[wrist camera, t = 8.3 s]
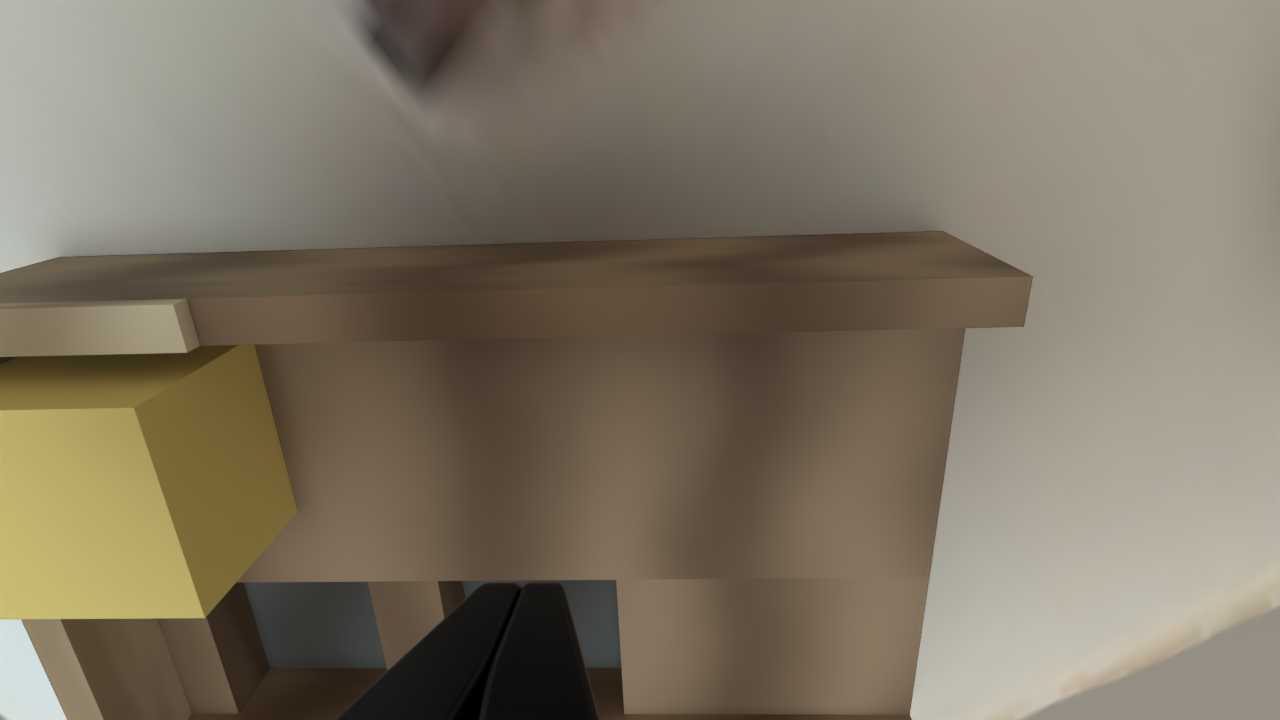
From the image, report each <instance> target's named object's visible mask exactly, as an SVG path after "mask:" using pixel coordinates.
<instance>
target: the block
mask: <svg viewBox="0 0 1280 720" xmlns="http://www.w3.org/2000/svg"><path fill="white" fill-rule="evenodd" d="M297 512H298V511H297V508H296V504H295V500H294V496H293V492H292V488H291V484H290V480H289V477H288V473H287V469H286V465H285V461H284V457H283V453H282V449H281V446H280V442H279V438H278V434H277V430H276V426H275V422H274V418H273V415H272V411H271V407H270V403H269V399H268V395H267V391H266V387H265V384H264V380H263V376H262V372H261V368H260V364H259V360H258V356H257V353H256V349H255V345H211V346H199V347H197V348H195V349H193V350H191V351H189V352H188V353H152V354H108V355H63V356H19V357H17V358H14V359H12V360H9V361H7V362H5V363H2V364H0V619H153V618H206V616H207V615H208V614H209V613H210V612H211V611H212V610H213V608H214V607H215V606H216V605H217V604H218V603H219V602H220V600H221V599H222V598H223V597H224V596H225V595H226V594H227V592H228V591H229V590H230V589H231V588H232V587H233V586H234V584H235V583H236V582H237V581H238V580H239V579H240V577H241V576H242V575H243V574H244V573H245V572H246V571H247V569H248V568H249V567H250V566H251V565H252V564H253V563H254V561H255V560H256V559H257V558H258V557H259V556H260V555H261V553H262V552H263V551H264V550H265V549H266V548H267V547H268V545H269V544H270V543H271V542H272V541H273V540H274V538H275V537H276V536H277V535H278V534H279V533H280V532H281V530H282V529H283V528H284V527H285V526H286V525H287V524H288V522H289V521H290V520H291V519H292V518H293V517H294V516H295V514H296V513H297Z"/></svg>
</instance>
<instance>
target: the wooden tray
mask: <svg viewBox="0 0 1280 720" xmlns="http://www.w3.org/2000/svg"><path fill="white" fill-rule="evenodd" d="M1032 278H1033V276H1031V275H1029V274H1027V273H1025V272H1023V271H1021V270H1019V269H1017V268H1015V267H1013V266H1011V265H1009V264H1007V263H1005V262H1003V261H1001V260H999V259H997V258H995V257H993V256H991V255H989V254H987V253H985V252H983V251H981V250H979V249H977V248H975V247H973V246H971V245H969V244H967V243H965V242H963V241H961V240H959V239H957V238H955V237H953V236H951V235H949V234H947V233H945V232H943V231H933V232H899V233H865V234H830V235H796V236H762V237H728V238H694V239H660V240H626V241H592V242H558V243H524V244H489V245H455V246H421V247H387V248H353V249H319V250H285V251H251V252H217V253H183V254H149V255H114V256H80V257H57V258H54V259H50V260H47V261H43V262H39V263H36V264H32V265H28V266H25V267H21V268H17V269H14V270H10V271H6V272H3V273H0V364H2V363H5V362H7V361H9V360H12V359H14V358H17V357H19V356H63V355H108V354H152V353H188V352H189V351H191V350H193V349H195V348H197V347H199V346H211V345H255V349H256V353H257V356H258V360H259V364H260V368H261V372H262V376H263V380H264V384H265V387H266V391H267V395H268V399H269V403H270V407H271V411H272V415H273V418H274V422H275V426H276V430H277V434H278V438H279V442H280V446H281V449H282V453H283V457H284V461H285V465H286V469H287V473H288V477H289V480H290V484H291V488H292V492H293V496H294V500H295V504H296V508H297V511H298V512H297V513H296V514H295V516H294V517H293V518H292V519H291V520H290V521H289V522H288V524H287V525H286V526H285V527H284V528H283V529H282V530H281V532H280V533H279V534H278V535H277V536H276V537H275V538H274V540H273V541H272V542H271V543H270V544H269V545H268V547H267V548H266V549H265V550H264V551H263V552H262V553H261V555H260V556H259V557H258V558H257V559H256V560H255V561H254V563H253V564H252V565H251V566H250V567H249V568H248V569H247V571H246V572H245V573H244V574H243V575H242V576H241V577H240V579H239V580H238V581H237V582H236V583H235V584H234V586H233V587H232V588H231V589H230V590H229V591H228V592H227V594H226V595H225V596H224V597H223V598H222V599H221V600H220V602H219V603H218V604H217V605H216V606H215V607H214V608H213V610H212V611H211V612H210V613H209V614H208V615H207V616H206V618H153V619H21V620H22V622H23V625H24V627H25V629H26V631H27V633H28V635H29V638H30V640H31V642H32V644H33V646H34V649H35V651H36V653H37V655H38V657H39V659H40V662H41V664H42V666H43V668H44V670H45V672H46V675H47V677H48V679H49V681H50V683H51V685H52V688H53V690H54V692H55V694H56V696H57V699H58V701H59V703H60V705H61V707H62V709H63V712H64V714H65V716H66V718H67V720H335V719H336V718H337V717H338V716H339V715H340V714H341V713H342V712H343V711H344V710H345V709H346V708H348V707H349V706H350V705H351V704H352V703H353V702H354V701H355V700H356V699H357V698H358V697H360V696H361V695H362V694H363V693H364V692H365V691H366V690H367V689H368V688H369V687H370V686H371V685H373V684H374V683H375V682H376V681H377V680H378V679H379V678H380V677H381V676H382V675H383V674H385V673H386V672H387V671H388V670H389V669H390V668H391V667H392V666H393V665H394V664H395V663H396V662H398V661H399V660H400V659H401V658H402V657H403V656H404V655H405V654H406V653H407V652H408V651H409V650H411V649H412V648H413V647H414V646H415V645H416V644H417V643H418V642H419V641H420V640H421V639H423V638H424V637H425V636H426V635H427V634H428V633H429V632H430V631H431V630H432V629H433V628H434V627H436V626H437V625H438V624H439V623H440V622H441V621H442V620H443V619H444V618H445V617H446V616H448V615H449V614H450V613H451V612H452V611H453V610H454V609H455V608H456V607H457V606H458V605H459V604H461V603H462V602H463V601H464V600H465V599H466V598H467V597H468V596H469V595H470V594H471V593H473V592H474V591H475V590H476V589H477V588H478V587H479V586H481V585H483V584H486V583H518V584H520V585H521V586H522V587H523V586H524V585H526V584H527V583H538V582H558V583H561V584H562V585H563V586H564V588H565V591H566V595H567V599H568V603H569V606H570V610H571V614H572V617H573V621H574V625H575V628H576V632H577V636H578V640H579V643H580V647H581V651H582V654H583V658H584V662H585V665H586V669H587V673H588V676H589V680H590V684H591V688H592V691H593V695H594V699H595V702H596V706H597V710H598V713H599V717H600V720H912V719H911V717H910V709H911V702H912V695H913V688H914V681H915V674H916V667H917V660H918V653H919V646H920V639H921V632H922V625H923V618H924V611H925V605H926V598H927V591H928V584H929V577H930V570H931V563H932V556H933V549H934V542H935V535H936V528H937V521H938V514H939V507H940V500H941V493H942V486H943V479H944V473H945V466H946V459H947V452H948V445H949V438H950V431H951V424H952V417H953V410H954V403H955V396H956V389H957V382H958V375H959V368H960V361H961V354H962V347H963V341H964V334H965V328H989V327H1024V324H1025V318H1026V312H1027V307H1028V301H1029V295H1030V290H1031V284H1032Z"/></svg>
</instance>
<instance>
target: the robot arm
mask: <svg viewBox="0 0 1280 720" xmlns="http://www.w3.org/2000/svg"><path fill="white" fill-rule="evenodd" d="M335 720H600V717H599V713H598V710H597V706H596V702H595V699H594V695H593V691H592V688H591V684H590V680H589V676H588V673H587V669H586V665H585V662H584V658H583V654H582V651H581V647H580V643H579V640H578V636H577V632H576V628H575V625H574V621H573V617H572V614H571V610H570V606H569V603H568V599H567V595H566V591H565V588H564V586H563V585H562V584H561V583H558V582H538V583H527V584H526V585H524V586H523V587H522V586H521V585H520V584H518V583H486V584H483V585H481V586H479V587H478V588H477V589H476V590H475V591H474V592H473V593H471V594H470V595H469V596H468V597H467V598H466V599H465V600H464V601H463V602H462V603H461V604H459V605H458V606H457V607H456V608H455V609H454V610H453V611H452V612H451V613H450V614H449V615H448V616H446V617H445V618H444V619H443V620H442V621H441V622H440V623H439V624H438V625H437V626H436V627H434V628H433V629H432V630H431V631H430V632H429V633H428V634H427V635H426V636H425V637H424V638H423V639H421V640H420V641H419V642H418V643H417V644H416V645H415V646H414V647H413V648H412V649H411V650H409V651H408V652H407V653H406V654H405V655H404V656H403V657H402V658H401V659H400V660H399V661H398V662H396V663H395V664H394V665H393V666H392V667H391V668H390V669H389V670H388V671H387V672H386V673H385V674H383V675H382V676H381V677H380V678H379V679H378V680H377V681H376V682H375V683H374V684H373V685H371V686H370V687H369V688H368V689H367V690H366V691H365V692H364V693H363V694H362V695H361V696H360V697H358V698H357V699H356V700H355V701H354V702H353V703H352V704H351V705H350V706H349V707H348V708H346V709H345V710H344V711H343V712H342V713H341V714H340V715H339V716H338V717H337V718H336V719H335Z"/></svg>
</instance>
